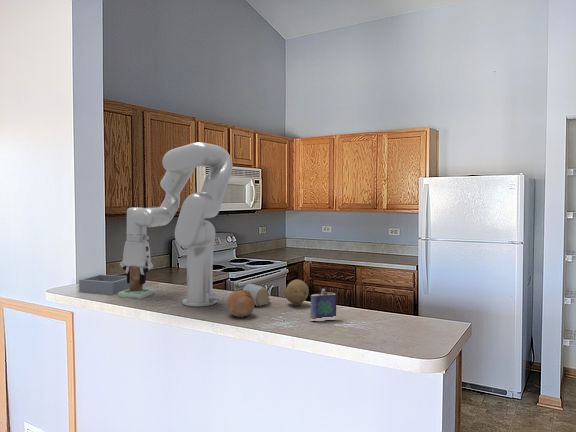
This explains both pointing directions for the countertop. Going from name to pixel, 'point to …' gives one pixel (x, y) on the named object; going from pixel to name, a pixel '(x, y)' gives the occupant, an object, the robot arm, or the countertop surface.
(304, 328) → the countertop surface
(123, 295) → the tray
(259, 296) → the ceramic mug
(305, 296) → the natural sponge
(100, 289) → the deep bin
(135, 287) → the walnut cylinder
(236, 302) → the onion
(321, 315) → the flask
